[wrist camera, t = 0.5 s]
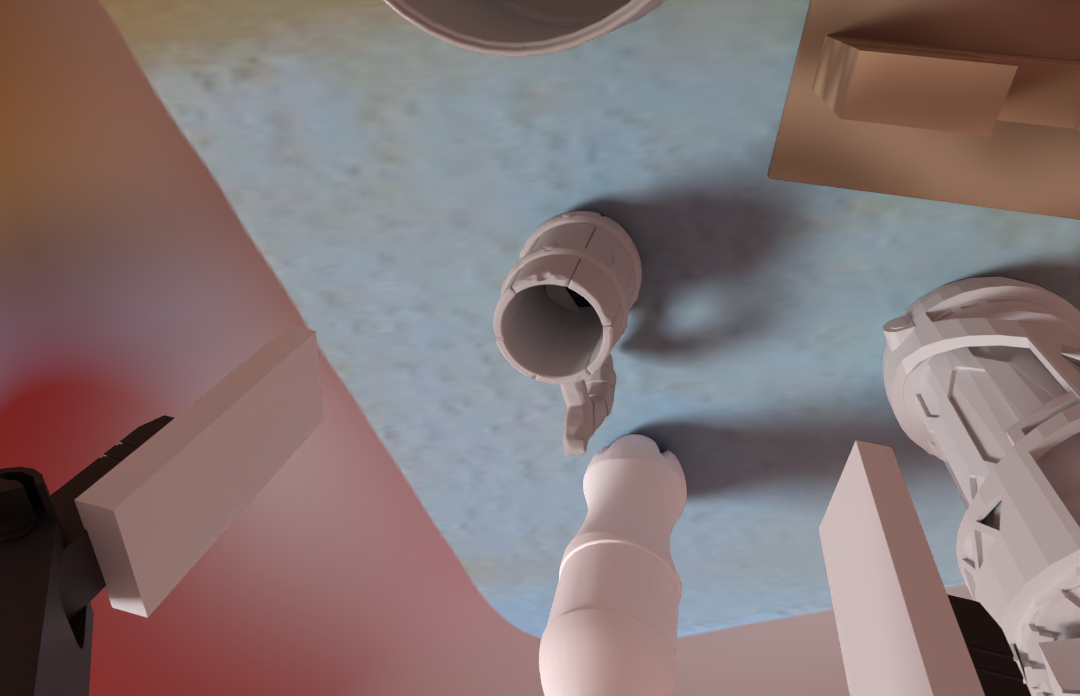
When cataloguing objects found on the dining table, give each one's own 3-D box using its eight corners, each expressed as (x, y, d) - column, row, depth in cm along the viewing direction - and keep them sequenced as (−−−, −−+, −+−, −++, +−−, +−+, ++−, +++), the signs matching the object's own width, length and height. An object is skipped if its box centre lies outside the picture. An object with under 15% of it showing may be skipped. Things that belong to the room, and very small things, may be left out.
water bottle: (592, 498, 51) (506, 864, 30) (587, 421, 48) (485, 770, 27) (687, 505, 50) (667, 900, 28) (688, 426, 46) (666, 803, 25)
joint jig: (829, -79, 31) (873, -103, 23) (1265, -48, 29) (1500, -62, 20) (767, 173, 37) (783, 229, 29) (1123, 220, 34) (1257, 298, 26)
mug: (628, 191, 40) (598, 263, 29) (668, 362, 44) (654, 476, 34) (511, 218, 42) (445, 294, 32) (560, 378, 47) (517, 488, 37)
